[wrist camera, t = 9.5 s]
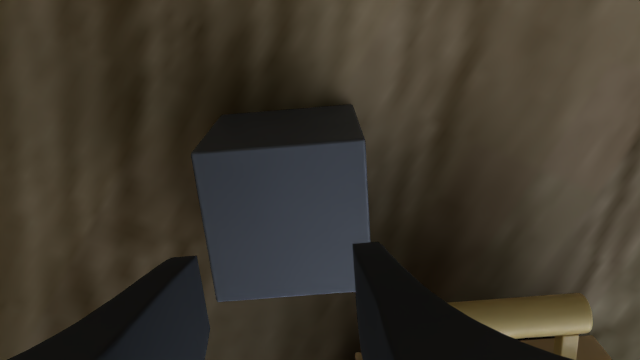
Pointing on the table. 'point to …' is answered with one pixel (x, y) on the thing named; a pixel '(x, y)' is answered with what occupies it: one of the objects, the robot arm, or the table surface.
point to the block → (283, 201)
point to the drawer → (540, 322)
